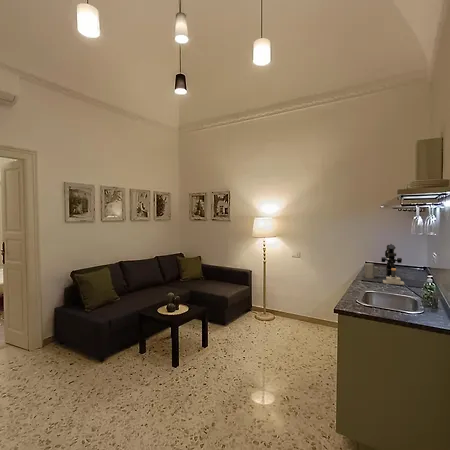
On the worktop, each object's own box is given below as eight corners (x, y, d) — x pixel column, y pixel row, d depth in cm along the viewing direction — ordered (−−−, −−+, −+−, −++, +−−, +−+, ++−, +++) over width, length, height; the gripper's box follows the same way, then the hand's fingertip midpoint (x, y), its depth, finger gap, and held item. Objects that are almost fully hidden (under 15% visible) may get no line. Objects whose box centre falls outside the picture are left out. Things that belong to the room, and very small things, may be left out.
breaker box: (382, 281, 298) (382, 274, 297) (403, 282, 290) (403, 275, 290) (383, 283, 289) (383, 276, 288) (404, 285, 281) (404, 277, 281)
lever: (391, 276, 291) (391, 268, 286) (395, 276, 289) (395, 268, 284) (391, 277, 289) (391, 269, 284) (395, 277, 287) (396, 269, 282)
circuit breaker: (380, 278, 308) (380, 264, 308) (366, 278, 311) (366, 264, 310) (378, 276, 316) (378, 263, 315) (364, 276, 319) (364, 263, 318)
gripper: (381, 249, 311) (382, 261, 301) (401, 250, 302) (402, 262, 293) (381, 255, 318) (381, 267, 309) (400, 256, 310) (401, 268, 301)
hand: (391, 266), depth 303 cm, fingers closed
